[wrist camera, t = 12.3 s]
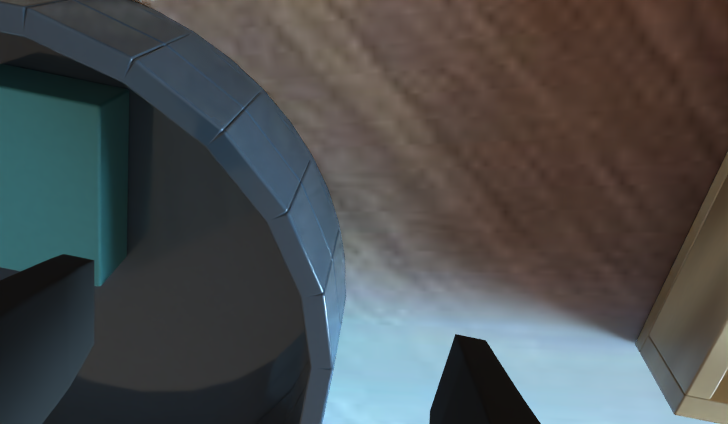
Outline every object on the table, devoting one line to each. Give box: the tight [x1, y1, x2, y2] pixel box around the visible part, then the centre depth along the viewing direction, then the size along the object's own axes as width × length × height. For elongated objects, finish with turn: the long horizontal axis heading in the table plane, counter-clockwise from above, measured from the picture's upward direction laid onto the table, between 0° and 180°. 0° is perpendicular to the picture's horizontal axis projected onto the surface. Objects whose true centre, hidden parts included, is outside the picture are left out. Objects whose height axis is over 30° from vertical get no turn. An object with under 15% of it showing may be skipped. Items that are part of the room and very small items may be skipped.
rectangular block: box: [0, 64, 129, 286], centre depth 18 cm, size 6×4×2 cm, turn 169°
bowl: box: [0, 0, 346, 424], centre depth 19 cm, size 19×19×4 cm
